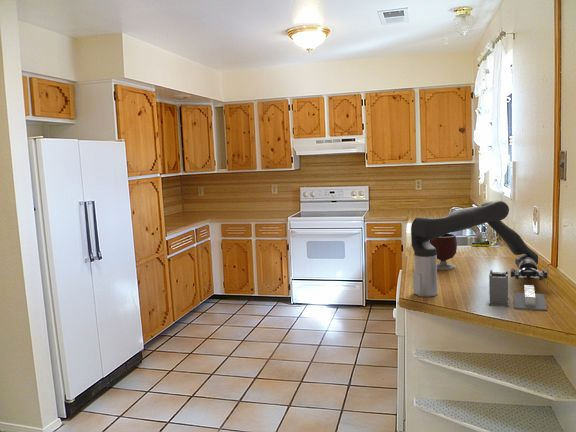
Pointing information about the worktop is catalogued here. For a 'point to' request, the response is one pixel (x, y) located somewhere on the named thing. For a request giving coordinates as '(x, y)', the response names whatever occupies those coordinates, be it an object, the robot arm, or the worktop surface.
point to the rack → (498, 289)
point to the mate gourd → (445, 250)
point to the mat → (520, 304)
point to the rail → (529, 295)
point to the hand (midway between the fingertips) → (529, 277)
